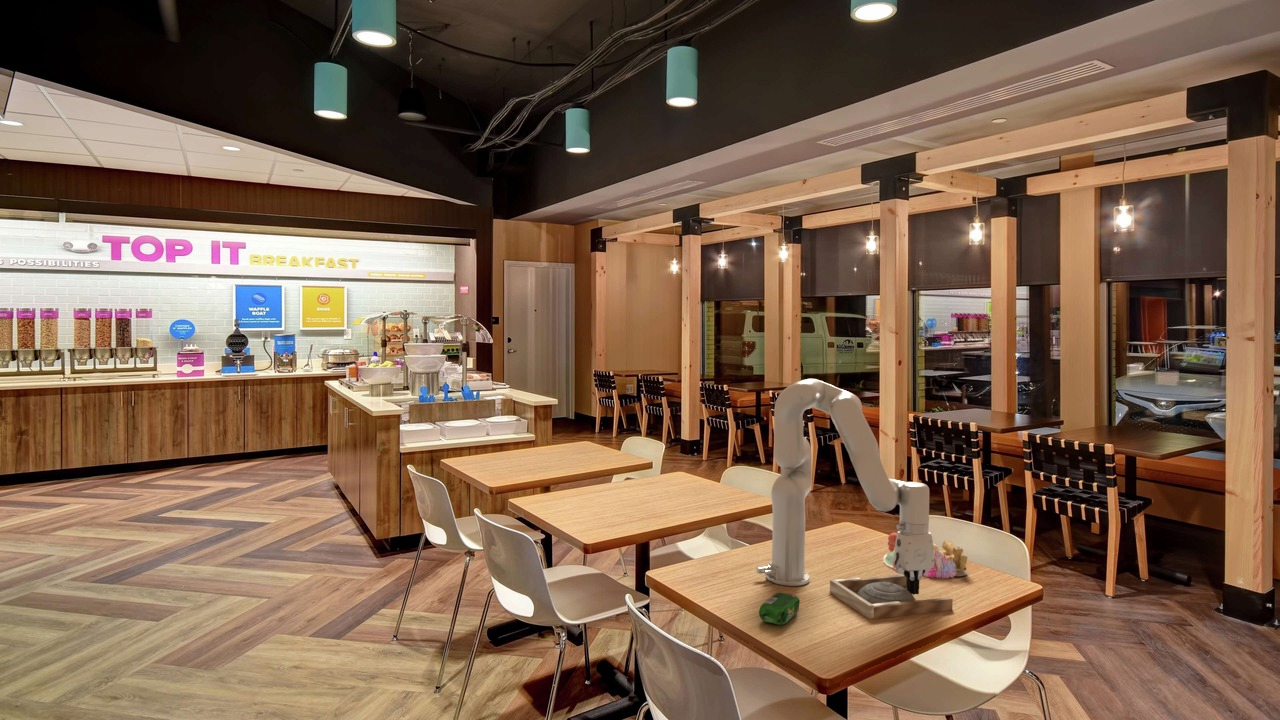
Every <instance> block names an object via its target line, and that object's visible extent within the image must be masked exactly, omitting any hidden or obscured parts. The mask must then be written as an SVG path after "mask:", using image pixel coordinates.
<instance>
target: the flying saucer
mask: <svg viewBox="0 0 1280 720" xmlns="http://www.w3.org/2000/svg"><path fill="white" fill-rule="evenodd" d="M857 595H859V596H860V597H862V598H863V599H865V600H866V601H868V602H869V603H871V604H877V603H886V602H895V601H898V602H909V601H917V599H916V598H915V596H914V595H913V594H911V593H910V592H909V591H908V590H907V588H906V587H904V586H902V587H901V586H899V585H897V584H893V583H890V582H874V583H870V584H867V585H865V586H864V587H862V588H861V589H860V590H859V591H857Z"/></svg>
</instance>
